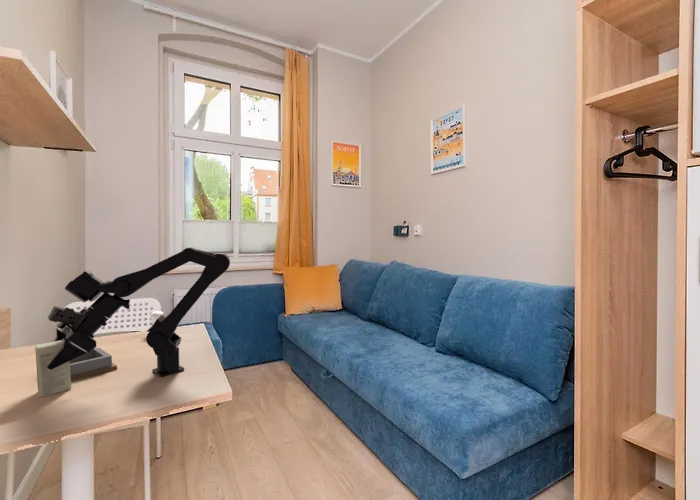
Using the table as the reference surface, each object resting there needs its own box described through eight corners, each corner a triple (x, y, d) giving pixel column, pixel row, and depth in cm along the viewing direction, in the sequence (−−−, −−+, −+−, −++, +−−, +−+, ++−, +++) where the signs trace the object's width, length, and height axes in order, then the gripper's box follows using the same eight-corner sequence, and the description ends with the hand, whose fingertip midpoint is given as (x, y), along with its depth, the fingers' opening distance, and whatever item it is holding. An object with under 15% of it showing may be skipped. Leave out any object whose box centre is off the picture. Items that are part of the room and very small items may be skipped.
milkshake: (163, 335, 135) (163, 310, 135) (148, 335, 134) (148, 310, 134) (167, 332, 140) (167, 307, 139) (153, 332, 139) (153, 308, 138)
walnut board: (117, 369, 101) (117, 365, 101) (55, 384, 90) (55, 381, 90) (101, 358, 110) (101, 355, 110) (44, 371, 99) (43, 368, 99)
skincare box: (68, 384, 91) (67, 338, 90) (71, 389, 88) (70, 342, 87) (36, 392, 86) (34, 344, 85) (37, 397, 83) (35, 348, 82)
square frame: (111, 365, 101) (111, 355, 101) (59, 379, 91) (58, 367, 91) (99, 356, 108) (98, 347, 108) (49, 367, 99) (48, 357, 99)
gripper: (66, 290, 95) (11, 338, 88) (78, 299, 82) (16, 356, 75) (101, 314, 101) (53, 360, 94) (118, 325, 88) (63, 380, 81)
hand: (46, 363), depth 86 cm, fingers open, 9 cm apart
